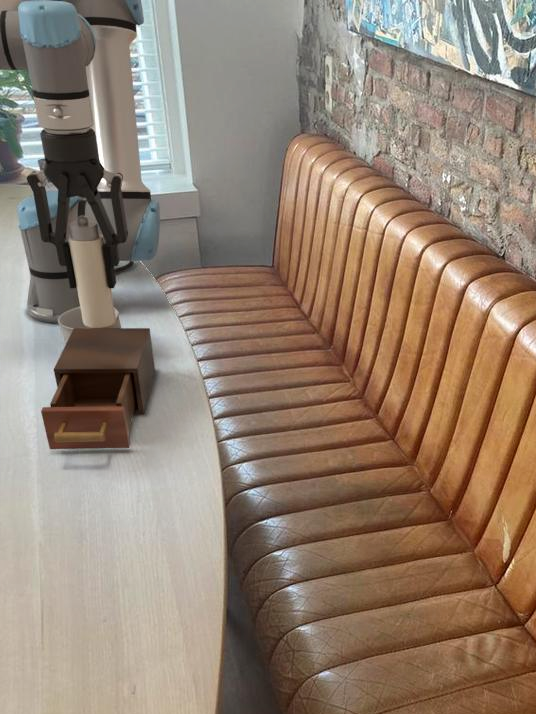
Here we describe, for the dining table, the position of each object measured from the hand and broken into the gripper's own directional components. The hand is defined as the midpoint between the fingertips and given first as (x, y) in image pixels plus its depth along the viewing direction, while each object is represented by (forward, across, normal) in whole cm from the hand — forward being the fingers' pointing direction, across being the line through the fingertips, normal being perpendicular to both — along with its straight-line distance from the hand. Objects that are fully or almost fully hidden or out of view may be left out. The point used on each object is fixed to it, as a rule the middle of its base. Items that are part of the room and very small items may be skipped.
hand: (93, 284), depth 124 cm
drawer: (+19, 0, -14) cm, 24 cm away
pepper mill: (+6, 0, 0) cm, 6 cm away
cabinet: (+20, 0, 0) cm, 20 cm away
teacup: (+20, -5, +17) cm, 26 cm away
